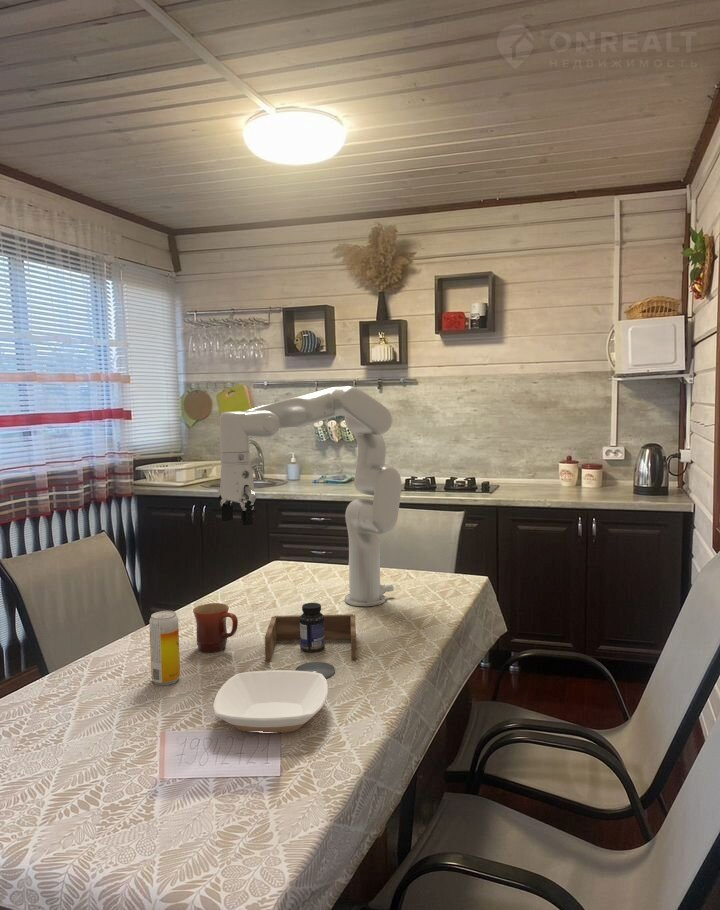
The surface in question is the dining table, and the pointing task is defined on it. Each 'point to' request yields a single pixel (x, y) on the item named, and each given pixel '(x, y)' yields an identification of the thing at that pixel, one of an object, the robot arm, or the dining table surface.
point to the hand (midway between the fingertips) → (237, 522)
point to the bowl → (271, 700)
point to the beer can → (164, 647)
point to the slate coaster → (318, 668)
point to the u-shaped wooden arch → (291, 631)
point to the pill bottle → (312, 628)
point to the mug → (213, 626)
